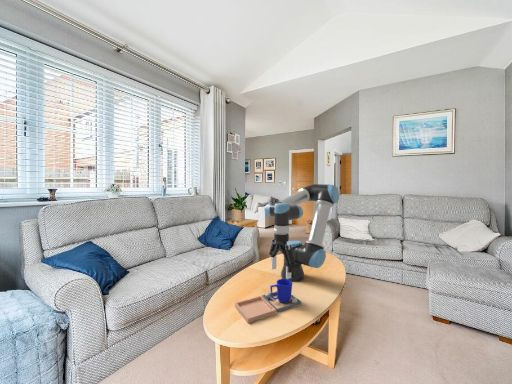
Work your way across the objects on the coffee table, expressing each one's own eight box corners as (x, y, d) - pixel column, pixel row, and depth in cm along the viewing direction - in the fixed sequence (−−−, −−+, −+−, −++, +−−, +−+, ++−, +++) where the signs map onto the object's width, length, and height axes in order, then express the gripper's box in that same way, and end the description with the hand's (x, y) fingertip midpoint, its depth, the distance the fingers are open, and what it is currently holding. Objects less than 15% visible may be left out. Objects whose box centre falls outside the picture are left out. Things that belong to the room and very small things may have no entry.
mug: (267, 299, 123) (267, 281, 122) (287, 295, 127) (287, 277, 126) (273, 307, 115) (274, 288, 114) (295, 302, 119) (295, 284, 119)
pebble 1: (268, 296, 125) (268, 291, 125) (271, 299, 123) (271, 293, 123) (264, 298, 124) (264, 292, 124) (267, 300, 121) (267, 295, 121)
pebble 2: (295, 301, 120) (295, 295, 120) (298, 304, 118) (298, 298, 118) (290, 302, 119) (290, 297, 119) (294, 305, 116) (294, 300, 116)
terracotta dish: (260, 299, 123) (260, 295, 123) (276, 313, 109) (276, 309, 109) (234, 306, 116) (234, 302, 116) (247, 323, 102) (247, 318, 102)
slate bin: (284, 291, 131) (284, 289, 131) (301, 304, 118) (301, 301, 118) (261, 298, 124) (261, 295, 124) (276, 312, 111) (276, 309, 111)
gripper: (263, 229, 128) (262, 266, 129) (290, 239, 106) (289, 284, 107) (274, 227, 132) (274, 264, 133) (302, 237, 110) (302, 281, 111)
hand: (280, 273), depth 120 cm, fingers open, 13 cm apart
